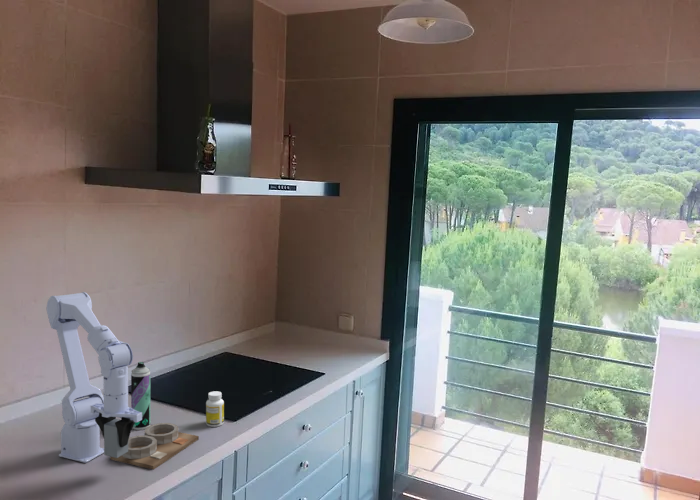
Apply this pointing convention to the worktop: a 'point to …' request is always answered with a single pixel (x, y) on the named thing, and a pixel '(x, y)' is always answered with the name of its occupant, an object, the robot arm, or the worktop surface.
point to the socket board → (160, 448)
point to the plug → (112, 440)
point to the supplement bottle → (214, 409)
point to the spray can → (141, 394)
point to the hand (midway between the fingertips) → (116, 444)
